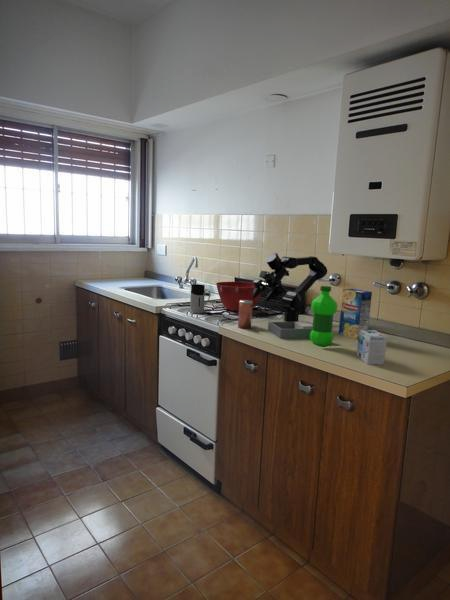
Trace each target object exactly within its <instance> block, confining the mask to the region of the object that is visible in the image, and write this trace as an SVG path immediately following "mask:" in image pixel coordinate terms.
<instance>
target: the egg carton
mask: <svg viewBox="0 0 450 600" xmlns="http://www.w3.org/2000/svg"><path fill="white" fill-rule="evenodd" d="M309 322H310V321H299V322H295V328H294V329H307V328H313V323H312V322H310V323H309ZM311 323H312V324H311Z"/></svg>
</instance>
